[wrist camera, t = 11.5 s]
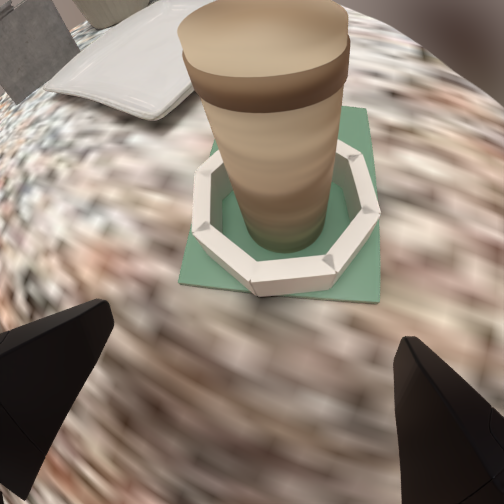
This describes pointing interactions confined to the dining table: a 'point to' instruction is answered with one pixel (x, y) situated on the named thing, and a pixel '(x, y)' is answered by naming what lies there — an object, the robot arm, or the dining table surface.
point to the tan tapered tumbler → (272, 106)
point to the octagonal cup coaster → (302, 262)
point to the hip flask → (32, 46)
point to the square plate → (134, 63)
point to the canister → (109, 11)
